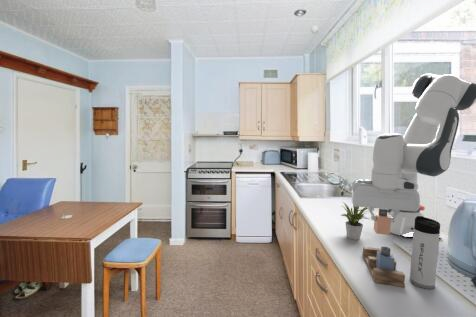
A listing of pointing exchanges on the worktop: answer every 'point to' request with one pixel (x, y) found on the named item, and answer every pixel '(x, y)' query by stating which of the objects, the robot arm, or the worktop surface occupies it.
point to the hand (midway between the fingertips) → (382, 220)
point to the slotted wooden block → (382, 274)
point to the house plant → (354, 222)
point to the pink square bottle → (382, 222)
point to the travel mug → (424, 252)
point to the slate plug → (385, 259)
